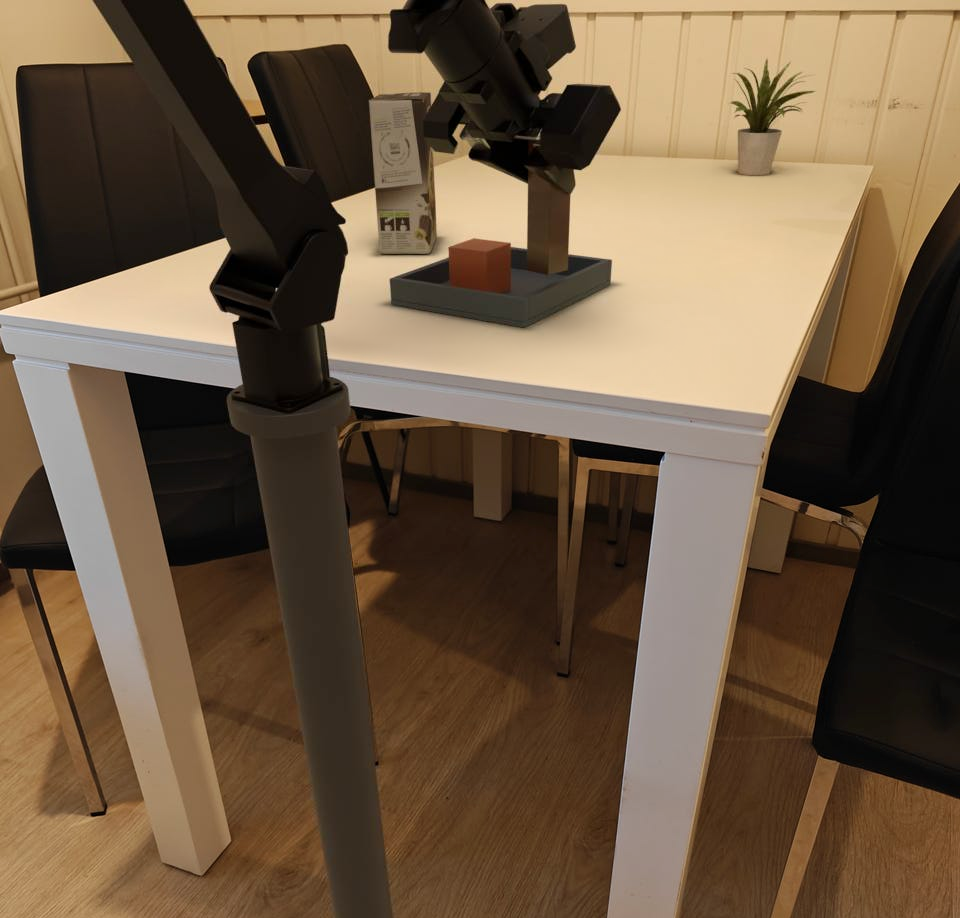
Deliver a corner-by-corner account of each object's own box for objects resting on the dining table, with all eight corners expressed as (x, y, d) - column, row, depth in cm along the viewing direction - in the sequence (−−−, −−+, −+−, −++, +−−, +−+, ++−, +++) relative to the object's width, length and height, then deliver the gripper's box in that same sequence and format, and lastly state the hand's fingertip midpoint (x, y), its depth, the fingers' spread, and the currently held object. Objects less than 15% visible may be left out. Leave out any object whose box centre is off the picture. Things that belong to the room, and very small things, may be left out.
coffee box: (431, 254, 108) (424, 97, 99) (378, 255, 109) (366, 98, 99) (438, 238, 116) (432, 90, 106) (388, 238, 116) (378, 91, 107)
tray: (524, 327, 84) (524, 299, 82) (391, 304, 91) (389, 278, 89) (610, 284, 96) (612, 259, 94) (487, 267, 103) (486, 243, 101)
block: (487, 300, 90) (486, 251, 87) (449, 294, 92) (448, 246, 89) (511, 289, 93) (511, 242, 90) (474, 284, 95) (473, 238, 92)
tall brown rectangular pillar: (548, 275, 85) (552, 103, 77) (526, 270, 87) (528, 101, 79) (567, 269, 87) (574, 100, 79) (546, 265, 89) (550, 98, 80)
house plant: (758, 184, 144) (776, 62, 134) (691, 174, 153) (703, 59, 143) (812, 173, 151) (833, 57, 141) (745, 164, 160) (761, 54, 150)
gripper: (614, -44, 65) (686, 118, 78) (441, -35, 77) (529, 106, 89) (537, 90, 66) (622, 231, 78) (375, 80, 77) (472, 205, 89)
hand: (559, 188), depth 84 cm, fingers closed on tall brown rectangular pillar, 3 cm apart
